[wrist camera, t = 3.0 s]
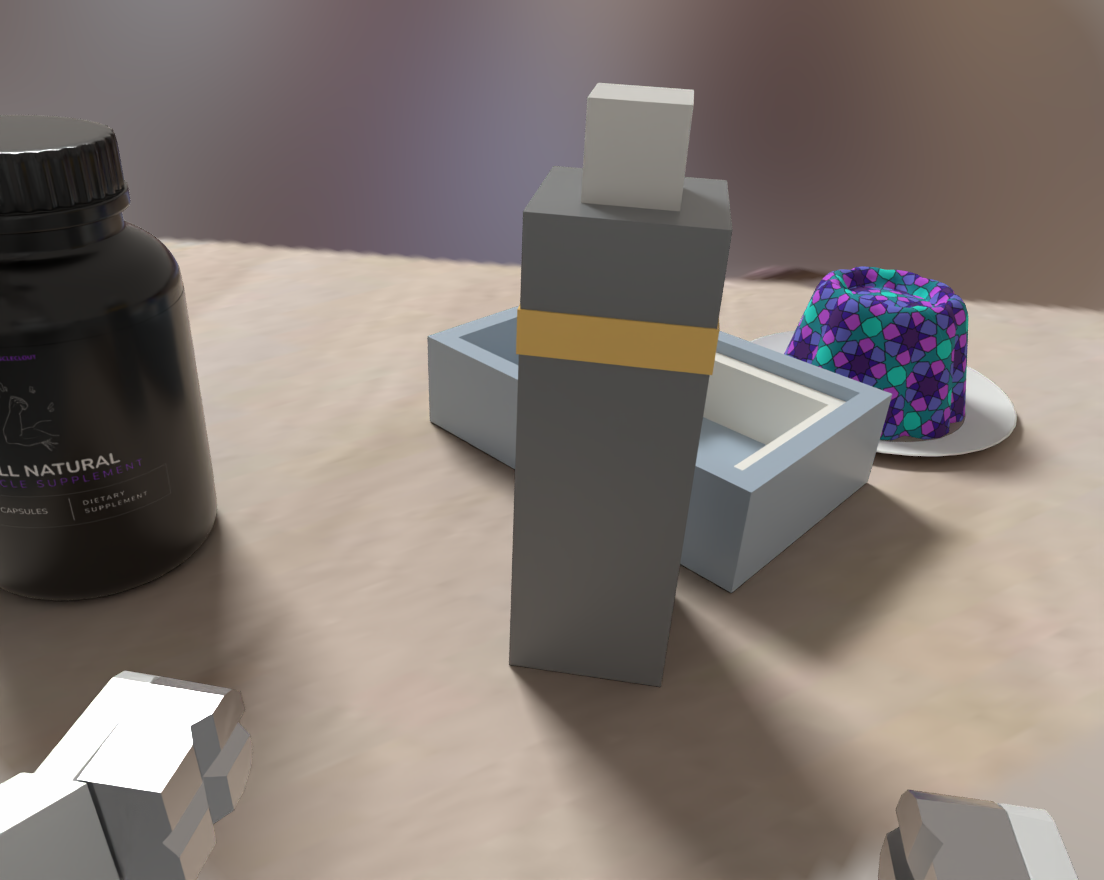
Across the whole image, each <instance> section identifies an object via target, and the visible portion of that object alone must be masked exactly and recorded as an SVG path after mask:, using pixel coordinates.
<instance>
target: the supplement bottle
mask: <svg viewBox="0 0 1104 880" xmlns="http://www.w3.org/2000/svg"><path fill="white" fill-rule="evenodd" d="M130 202H131V200H130V194H129V188H128V184H127V182H126V181H125V180H124V177H123V171H122V165H121V159H120V154H119V148H118V143H117V140H116V136H115V133H114V131H113V129H111V128H109V127H108V126H106V125H102V124H100V123H98V122H92V121H89V120H82V119H75V118H68V117H56V116H38V115H0V588H2V589H4V590H6V591H9V592H11V593H14V594H17V595H21V596H25V597H29V598H35V599H43V600H80V599H89V598H95V597H101V596H106V595H110V594H114V593H118V592H122V591H125V590H128V589H131V588H134V587H137V586H140V585H142V584H145V583H147V582H149V581H152V580H154V579H156V578H158V577H160V576H162V575H164V574H165V573H167V572H169V571H171V570H172V569H174V568H175V567H177V566H178V565H180V564H181V563H182V562H184V561H185V560H186V559H187V558H189V557H190V556H191V555H192V554H193V553H194V552H195V551H196V550H197V549H198V548H199V547H200V546H201V544H202V543H203V542H204V540H205V539H206V538H207V536H208V535H209V533H210V531H211V529H212V527H213V524H214V522H215V518H216V512H217V498H216V491H215V484H214V475H213V469H212V463H211V456H210V450H209V443H208V437H207V431H206V424H205V418H204V412H203V405H202V399H201V393H200V386H199V380H198V373H197V367H196V361H195V354H194V348H193V342H192V335H191V329H190V322H189V316H188V310H187V303H186V297H185V291H184V286H183V281H182V276H181V272H180V268H179V265H178V263H177V261H176V260H175V258H174V256H173V255H172V253H171V252H170V251H169V250H168V248H167V247H166V246H165V245H164V244H163V243H162V242H161V241H160V240H159V239H157V238H156V237H155V236H153V235H152V234H151V233H149V232H147V231H146V230H144V229H142V228H140V227H138V226H136V225H134V224H131V223H129V222H127V221H125V220H124V219H123V214H122V212H123V211H124V210H126V209H127V208H128V206H129V205H130Z"/></svg>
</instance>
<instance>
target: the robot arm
mask: <svg viewBox="0 0 1104 880" xmlns="http://www.w3.org/2000/svg"><path fill="white" fill-rule="evenodd" d="M244 712H245V706H244V702H243V698H242V694H241V691H238V690H234V689H229V688H223V687H218V686H212V685H207V684H201V683H196V682H190V681H184V680H179V679H173V678H168V677H162V676H155V675H149V674H143V673H137V672H131V671H123V672H121V673H120V674H118V675H116V676H114V677H113V678H112V679H110V680H109V682H108V683H107V684H106V685H105V687H104V688H103V689H102V690H101V691H100V693H99V694H98V695H97V696H96V698H95V699H94V700H93V701H92V702H91V704H90V705H89V706H88V707H87V709H86V710H85V711H84V712H83V713H82V715H81V716H80V717H79V718H78V720H77V721H76V722H75V723H74V724H73V726H72V727H71V728H70V729H69V731H68V732H67V733H66V734H65V736H64V737H63V738H62V739H61V740H60V742H59V743H58V744H57V745H56V747H55V748H54V749H53V750H52V751H51V753H50V754H49V755H48V756H47V758H46V759H45V760H44V761H43V762H42V764H41V765H40V766H39V767H38V769H37V770H36V771H35V772H34V773H33V774H32V773H24V772H21V773H20V774H18V775H16V776H14V777H12V778H10V779H9V780H7V781H5V782H3V783H1V784H0V880H196V879H197V877H198V875H199V873H200V871H201V870H202V868H203V866H204V864H205V862H206V861H207V859H208V857H209V855H210V853H211V851H212V850H213V848H214V846H215V844H216V836H215V831H214V825H213V824H214V823H216V822H217V821H219V820H220V819H222V818H223V817H225V816H226V815H228V814H229V813H231V812H232V811H233V810H234V809H235V807H236V805H237V803H238V801H239V800H240V798H241V796H242V794H243V792H244V790H245V787H246V783H247V780H248V777H249V773H250V770H251V766H252V751H253V748H252V742H251V736H250V734H249V733H248V732H247V731H246V730H245V729H244V728H243V727H242V726H241V725H240V724H239V720H240V718H241V717H242V715H243V713H244ZM896 814H897V819H898V823H899V827H898V828H897V829H895V830H893V831H891V832H889V833H888V834H886V837H885V840H884V843H883V846H882V849H881V852H880V861H879V872H878V880H1079V879H1078V877H1077V874H1076V872H1075V869H1074V867H1073V864H1072V862H1071V860H1070V857H1069V855H1068V852H1067V850H1066V848H1065V845H1064V843H1063V841H1062V838H1061V836H1060V833H1059V831H1058V828H1057V826H1056V824H1055V821H1054V819H1053V818H1052V817H1051V816H1050V814H1049V813H1048V812H1047V811H1046V810H1042V809H1035V808H1029V807H1022V806H1016V805H1009V804H1002V803H995V802H993V801H987V800H980V799H973V798H965V797H958V796H951V795H943V794H936V793H929V792H922V791H914V790H907V791H906V792H905V793H903V794H902V795H901V797H900V800H899V802H898V805H897V807H896Z"/></svg>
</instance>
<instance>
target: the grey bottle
mask: <svg viewBox="0 0 1104 880" xmlns="http://www.w3.org/2000/svg"><path fill="white" fill-rule="evenodd" d="M693 102H694V90H687V89H674V88H661V87H647V86H633V85H620V84H619V85H618V84H606V83H598V84H597V85H596V87H595V88H594V89H593V91H592V92H591V93H590V95H589V96H588V98H587V115H586V130H585V145H584V161H583V168H572V167H560V166H553V168H552V169H551V171H550V172H549V174H548V175H547V177H546V178H545V180H544V181H543V183H542V184H541V186H540V187H539V189H538V190H537V192H536V193H535V195H534V196H533V198H532V199H531V201H530V202H529V204H528V205H527V206H526V208H525V209H524V211H523V233H522V265H521V297H520V305H519V307H518V309H517V336H516V354H519V361H518V393H517V425H516V458H515V490H514V522H513V554H512V586H511V618H510V650H509V665H515V666H522V667H528V668H535V669H542V670H549V671H556V672H563V673H569V674H576V675H583V676H590V677H597V678H604V679H610V680H617V681H624V682H631V683H638V684H645V685H651V686H658V687H661V682H662V676H663V670H664V663H665V657H666V650H667V644H668V638H669V631H670V625H671V619H672V612H673V606H674V599H675V593H676V587H677V580H678V574H679V567H680V561H681V555H682V548H683V542H684V536H685V529H686V523H687V516H688V510H689V504H690V497H691V491H692V485H693V478H694V472H695V465H696V459H697V453H698V446H699V440H700V434H701V427H702V421H703V414H704V408H705V402H706V395H707V389H708V383H709V376H710V375H712V374H713V368H714V362H715V355H716V349H717V343H718V336H719V312H720V306H721V300H722V293H723V287H724V280H725V274H726V267H727V261H728V255H729V249H730V242H731V236H732V223H731V214H730V205H729V196H728V187H727V181H726V180H715V179H703V178H690V177H684V176H685V168H686V160H687V152H688V144H689V136H690V127H691V120H692V112H693Z"/></svg>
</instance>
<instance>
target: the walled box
mask: <svg viewBox="0 0 1104 880" xmlns="http://www.w3.org/2000/svg"><path fill="white" fill-rule="evenodd" d="M518 307H519V306H517V307H514V308H511V309H508V310H505V311H502V312H499V313H496V314H493V315H490V316H487V317H484V318H481V319H478V320H475V321H472V322H469V323H466V324H463V325H460V326H457V327H454V328H451V329H448V330H445V331H442V332H439V333H436V334H433V335H430V336H428V371H429V407H430V421H431V422H433V423H434V424H436V425H438V426H440V427H441V428H443V429H445V430H447V431H448V432H450V433H452V434H454V435H455V436H457V437H459V438H461V439H462V440H464V441H466V442H468V443H469V444H471V445H473V446H475V447H476V448H478V449H480V450H482V451H483V452H485V453H487V454H489V455H490V456H492V457H494V458H496V459H497V460H499V461H501V462H503V463H504V464H506V465H508V466H510V467H511V468H513V469H515V458H516V425H517V393H518V361H519V354H516V336H517V309H518ZM891 397H892V394H891V393H888V392H886V391H883V390H880V389H878V388H875V387H872V386H869V385H867V384H864V383H861V382H858V381H856V380H853V379H850V378H847V377H845V376H842V375H839V374H836V373H834V372H831V371H828V370H826V369H823V368H820V367H817V366H815V365H812V364H809V363H806V362H804V361H801V360H798V359H795V358H793V357H790V356H787V355H784V354H782V353H779V352H776V351H773V350H771V349H768V348H765V347H763V346H760V345H757V344H754V343H752V342H749V341H746V340H743V339H741V338H738V337H735V336H732V335H730V334H727V333H724V332H721V331H719V336H718V343H717V349H716V355H715V362H714V368H713V374H712V375H710V376H709V383H708V389H707V395H706V402H705V408H704V414H703V421H702V427H701V434H700V440H699V446H698V453H697V459H696V465H695V472H694V478H693V485H692V491H691V497H690V504H689V510H688V516H687V523H686V529H685V536H684V542H683V548H682V555H681V561H680V564H681V565H683V566H685V567H687V568H688V569H690V570H692V571H694V572H695V573H697V574H699V575H701V576H702V577H704V578H706V579H708V580H709V581H711V582H713V583H715V584H716V585H718V586H720V587H722V588H723V589H725V590H727V591H729V592H730V593H732V592H733V591H734V590H736V589H737V588H738V587H739V586H741V585H742V584H743V583H744V582H745V581H747V580H748V579H749V578H750V577H752V576H753V575H754V574H755V573H756V572H758V571H759V570H760V569H761V568H763V567H764V566H765V565H766V564H768V563H769V562H770V561H771V560H772V559H774V558H775V557H776V556H777V555H779V554H780V553H781V552H782V551H783V550H785V549H786V548H787V547H788V546H790V545H791V544H792V543H793V542H794V541H796V540H797V539H798V538H799V537H801V536H802V535H803V534H804V533H805V532H807V531H808V530H809V529H810V528H812V527H813V526H814V525H815V524H816V523H818V522H819V521H820V520H821V519H823V518H824V517H825V516H826V515H827V514H829V513H830V512H831V511H832V510H834V509H835V508H836V507H837V506H838V505H840V504H841V503H842V502H843V501H845V500H846V499H847V498H848V497H849V496H851V495H852V494H853V493H854V492H856V491H857V490H858V489H859V488H860V487H862V486H863V485H864V484H865V483H867V482H868V479H869V475H870V472H871V468H872V465H873V461H874V458H875V454H876V451H877V447H878V443H879V440H880V436H881V433H882V429H883V426H884V422H885V419H886V415H887V411H888V408H889V404H890V401H891Z"/></svg>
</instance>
